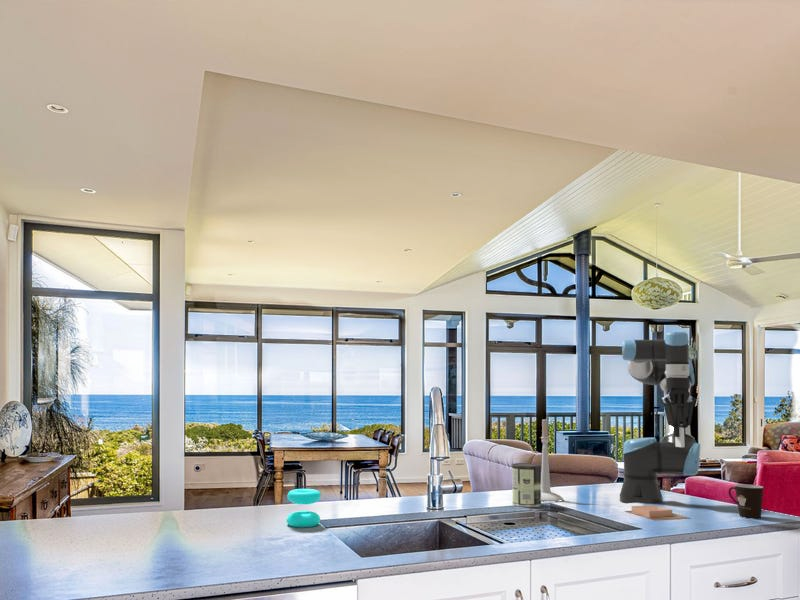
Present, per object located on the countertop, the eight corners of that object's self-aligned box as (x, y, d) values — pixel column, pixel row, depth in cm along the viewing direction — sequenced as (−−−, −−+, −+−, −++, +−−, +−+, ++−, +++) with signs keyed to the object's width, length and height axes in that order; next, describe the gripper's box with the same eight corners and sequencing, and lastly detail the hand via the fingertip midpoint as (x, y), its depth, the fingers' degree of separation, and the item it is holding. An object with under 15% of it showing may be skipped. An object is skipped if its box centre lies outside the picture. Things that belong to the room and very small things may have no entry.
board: (623, 513, 231) (623, 511, 232) (658, 511, 236) (658, 509, 236) (655, 523, 216) (655, 520, 216) (691, 520, 221) (691, 518, 221)
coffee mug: (769, 519, 225) (768, 488, 226) (743, 519, 225) (741, 487, 226) (752, 512, 236) (751, 483, 237) (727, 512, 236) (725, 482, 238)
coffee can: (532, 501, 252) (532, 462, 254) (546, 506, 242) (546, 466, 244) (507, 502, 249) (506, 463, 251) (519, 507, 239) (519, 466, 241)
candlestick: (561, 497, 264) (560, 417, 267) (565, 502, 251) (563, 419, 255) (527, 495, 265) (526, 417, 269) (529, 501, 253) (528, 418, 256)
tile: (654, 511, 232) (631, 512, 230) (653, 505, 233) (631, 506, 230) (672, 516, 224) (649, 517, 221) (672, 509, 224) (649, 511, 221)
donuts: (318, 487, 213) (323, 492, 204) (317, 520, 212) (322, 527, 203) (286, 488, 211) (289, 493, 201) (285, 522, 210) (287, 528, 200)
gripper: (669, 376, 231) (671, 448, 228) (701, 377, 235) (703, 447, 232) (654, 376, 238) (656, 446, 235) (685, 377, 242) (687, 445, 239)
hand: (680, 446), depth 233 cm, fingers closed
